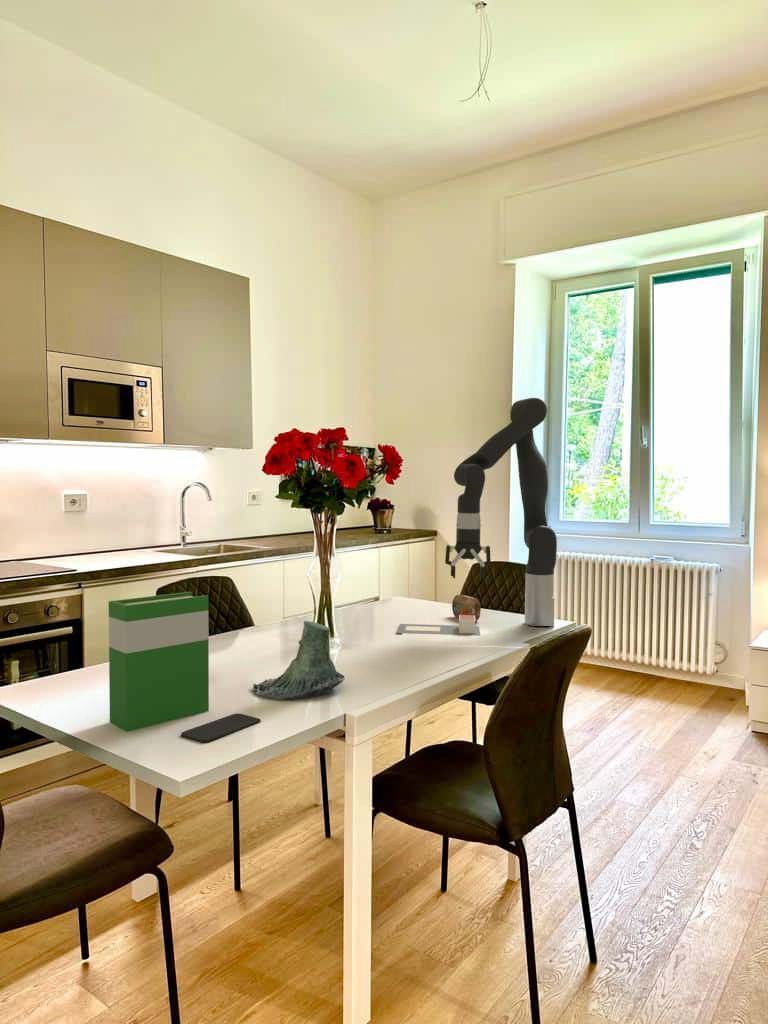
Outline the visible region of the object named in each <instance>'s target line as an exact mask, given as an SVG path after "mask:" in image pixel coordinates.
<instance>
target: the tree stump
mask: <svg viewBox="0 0 768 1024" xmlns="http://www.w3.org/2000/svg"><path fill="white" fill-rule="evenodd" d="M298 644H299V646H298V651H297V653H296V657H295V658H293V659H292V660H291V662H290V664H289V666H288V667H287V668H286V669H285V671H284V672H283V673H282V674H281V675H280V676H278V677H277V678H276V677H275V678H268V679H265V680H264V681H262V682H259V683H258V684H255V683H253V686H252V691H253V693H254V694H255V696H257V697H260V698H263V699H266V700H272V701H273V700H274V701H280V702H281V701H282V702H283V701H285V702H287V701H296V700H304V699H310V698H315V697H319V696H322V695H325V694H329V693H330V692H331V691H332V690H333V689H334V688H336V687H337V686H339V685H340V684H341V683H343V682H344V681H345V676H344V675H343V674H341V673H340V672H339V671H337V670H336V667H335V664H334V662H333V660H332V658H331V651H330V628H329V627H327V626H325V624H324V625H323V624H321V623H318V622H314V621H309V620H305V621H303V628H302V635H301V638H300V640H298Z"/></svg>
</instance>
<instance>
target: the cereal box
mask: <svg viewBox="0 0 768 1024" xmlns="http://www.w3.org/2000/svg"><path fill="white" fill-rule="evenodd" d="M209 637H210V636H209V595H206V594H205V595H198V596H193V592H192V591H185V592H177V593H167V594H158V595H152V596H143V597H142V596H141V597H134V598H124V599H116V600H108V660H109V661H108V664H109V666H108V667H109V668H108V669H109V670H108V671H109V674H108V675H109V676H108V677H109V682H108V683H109V684H108V685H109V723H110V724H113V726H116V727H117V728H119V729H121V730H123V731H125V732H127V733H128V732H133V731H136V730H140V729H143V728H148V727H152V726H155V725H160V724H164V723H167V722H171V721H175V720H179V719H183V718H188V717H191V716H194V715H199V714H203V713H206V712H209V710H210V709H209V706H210V699H209V698H210V695H209V694H210V690H209V688H210V684H209V683H210V681H209V679H210V678H209V677H210V676H209V675H210V674H209V673H210V671H209V670H210V669H209V662H210V661H209V659H210V655H209V654H210V653H209V649H210V648H209V646H210V645H209V642H210V641H209V639H210V638H209Z"/></svg>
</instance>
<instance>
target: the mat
mask: <svg viewBox="0 0 768 1024" xmlns="http://www.w3.org/2000/svg"><path fill="white" fill-rule="evenodd" d="M403 634H419V635H421V634H422V635H444V636H445V635H447V636H448V635H449V636H450V635H451V636H452V635H453V636H478V637H479V636H481V632H480V626H479V625H475V633H459V625H456V624H455V625H454V624H453V625H452V624H451V625H449V624H448V625H447V624H423V623H422V624H417V623H416V624H415V623H399V625H398V627H397V629H396V632H395V635H403Z"/></svg>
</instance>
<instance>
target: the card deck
mask: <svg viewBox="0 0 768 1024" xmlns="http://www.w3.org/2000/svg"><path fill="white" fill-rule="evenodd" d="M458 626H459V633H475V626H476V621H475V615H459V618H458Z"/></svg>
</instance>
